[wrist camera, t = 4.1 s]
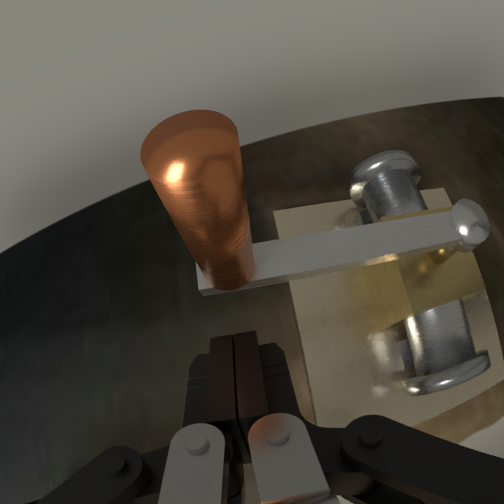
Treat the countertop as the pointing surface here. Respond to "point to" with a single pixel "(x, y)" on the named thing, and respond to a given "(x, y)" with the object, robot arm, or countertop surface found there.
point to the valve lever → (237, 220)
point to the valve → (391, 310)
